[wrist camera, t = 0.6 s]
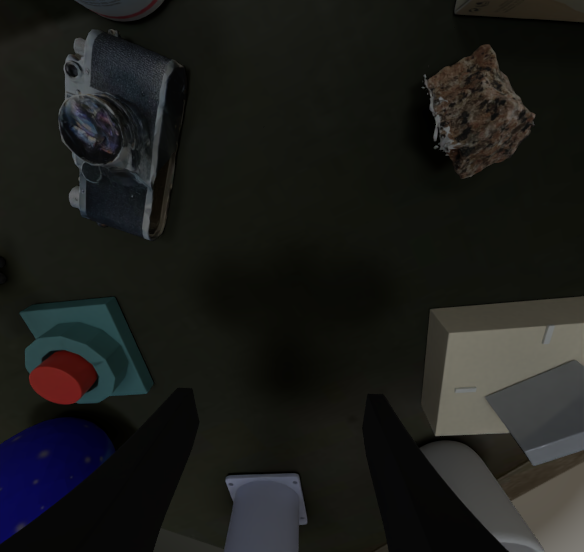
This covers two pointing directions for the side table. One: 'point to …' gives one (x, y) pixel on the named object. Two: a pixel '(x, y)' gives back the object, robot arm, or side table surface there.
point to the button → (63, 377)
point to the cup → (481, 494)
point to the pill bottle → (122, 8)
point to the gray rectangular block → (545, 412)
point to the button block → (89, 344)
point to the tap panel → (493, 357)
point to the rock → (477, 112)
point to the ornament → (46, 467)
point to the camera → (122, 131)
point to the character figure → (0, 276)
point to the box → (524, 9)
